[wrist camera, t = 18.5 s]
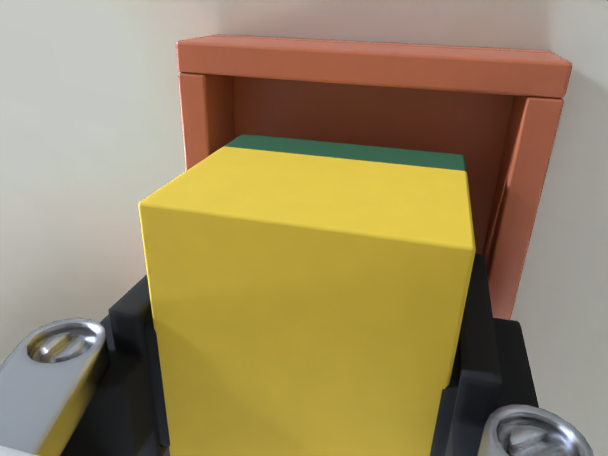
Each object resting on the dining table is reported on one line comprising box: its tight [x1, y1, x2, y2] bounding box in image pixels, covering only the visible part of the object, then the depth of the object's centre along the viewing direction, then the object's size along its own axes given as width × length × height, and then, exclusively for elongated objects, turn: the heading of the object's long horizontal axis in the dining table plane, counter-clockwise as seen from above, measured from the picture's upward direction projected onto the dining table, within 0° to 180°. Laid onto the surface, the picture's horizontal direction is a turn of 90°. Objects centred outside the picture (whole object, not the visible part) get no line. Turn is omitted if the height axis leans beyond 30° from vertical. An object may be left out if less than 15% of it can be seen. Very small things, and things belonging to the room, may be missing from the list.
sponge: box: [139, 134, 476, 456], centre depth 10 cm, size 7×4×4 cm, turn 178°
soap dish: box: [176, 35, 572, 320], centre depth 12 cm, size 10×7×2 cm
